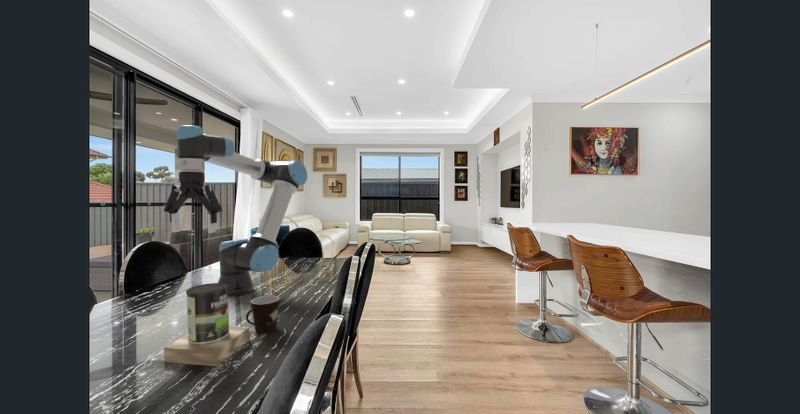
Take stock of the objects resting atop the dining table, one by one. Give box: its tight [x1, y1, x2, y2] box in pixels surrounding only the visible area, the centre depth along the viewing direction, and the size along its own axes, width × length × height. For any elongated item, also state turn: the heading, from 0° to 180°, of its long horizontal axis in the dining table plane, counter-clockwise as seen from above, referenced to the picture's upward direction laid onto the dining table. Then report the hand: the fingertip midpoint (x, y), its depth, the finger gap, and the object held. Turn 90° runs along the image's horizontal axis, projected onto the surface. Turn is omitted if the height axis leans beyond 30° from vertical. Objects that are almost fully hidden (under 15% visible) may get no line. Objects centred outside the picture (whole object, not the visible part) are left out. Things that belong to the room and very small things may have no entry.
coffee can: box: [185, 282, 230, 345], centre depth 94 cm, size 10×10×14 cm
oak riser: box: [163, 325, 251, 367], centre depth 94 cm, size 15×15×4 cm
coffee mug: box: [245, 294, 280, 335], centre depth 107 cm, size 12×9×10 cm
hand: (193, 232), depth 116 cm, fingers open, 13 cm apart
